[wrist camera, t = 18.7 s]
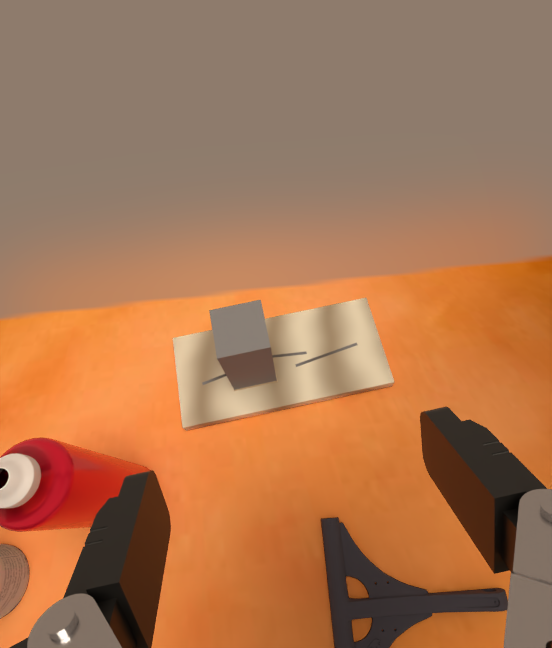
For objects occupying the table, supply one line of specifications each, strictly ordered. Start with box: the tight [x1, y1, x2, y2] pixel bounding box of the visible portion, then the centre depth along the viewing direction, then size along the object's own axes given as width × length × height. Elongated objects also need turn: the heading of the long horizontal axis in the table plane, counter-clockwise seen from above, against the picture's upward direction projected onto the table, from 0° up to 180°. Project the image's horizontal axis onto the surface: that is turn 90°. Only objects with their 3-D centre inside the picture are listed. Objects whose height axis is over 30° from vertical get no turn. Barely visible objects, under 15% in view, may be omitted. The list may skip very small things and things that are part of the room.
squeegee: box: [321, 517, 508, 648], centre depth 36 cm, size 14×15×3 cm
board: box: [173, 298, 394, 430], centre depth 45 cm, size 22×10×2 cm, turn 101°
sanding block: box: [209, 300, 278, 391], centre depth 40 cm, size 5×5×10 cm
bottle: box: [0, 438, 151, 532], centre depth 32 cm, size 6×6×20 cm
